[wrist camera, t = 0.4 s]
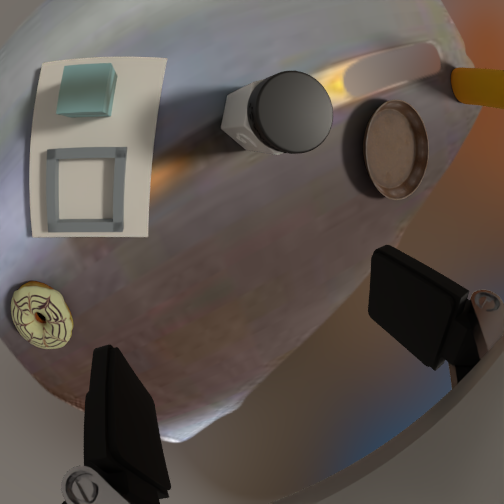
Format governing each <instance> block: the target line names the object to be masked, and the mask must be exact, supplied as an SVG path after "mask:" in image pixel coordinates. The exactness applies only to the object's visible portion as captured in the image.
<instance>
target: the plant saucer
mask: <svg viewBox="0 0 504 504" xmlns="http://www.w3.org/2000/svg"><path fill="white" fill-rule="evenodd" d="M363 155H364V161H365V165H366V169H367V172H368V174H369V176H370V178H371V180H372V182H373V184H374V185H375V187H376V188H377V189H378V191H379V192H380V193H381V194H383V195H384V196H385V197H387V198H389V199H393V200H400V199H404V198H406V197H408V196H409V195H411V194H412V193H413V192H414V191H415V190H416V189H417V187H418V186H419V184H420V183H421V181H422V179H423V177H424V174H425V171H426V168H427V163H428V155H429V144H428V136H427V132H426V128H425V125H424V123H423V121H422V119H421V117H420V115H419V114H418V112H417V111H416V110H415V109H414V108H413V107H412V106H411V105H410V104H408V103H407V102H405V101H402V100H390V101H387V102H385V103H384V104H382V105H381V106H380V107H379V108H378V109H377V110H376V111H375V112H374V114H373V115H372V116H371V118H370V120H369V122H368V124H367V127H366V130H365V134H364V140H363Z"/></svg>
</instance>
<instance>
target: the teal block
mask: <svg viewBox="0 0 504 504" xmlns="http://www.w3.org/2000/svg"><path fill="white" fill-rule="evenodd" d="M117 77H118V76H117V74H116V72H115V70H114V68H113V66H112V63H95V64H79V65H68V66H64V70H63V75H62V80H61V85H60V91H59V96H58V103H57V110H56V114H58V115H63V116H67V117H71V118H76V117H106V116H111V113H112V106H113V100H114V93H115V87H116V82H117Z"/></svg>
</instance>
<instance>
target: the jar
mask: <svg viewBox="0 0 504 504" xmlns="http://www.w3.org/2000/svg"><path fill="white" fill-rule="evenodd" d="M332 121H333V108H332V104H331V100H330V98H329V95H328V93H327V92H326V90H325V89H324V87H323V86H322V85H321V84H320V83H319V82H318V81H317V80H316V79H315V78H313V77H312V76H310V75H308V74H306V73H303V72H299V71H284V72H280V73H277V74H275V75H273V76H270V77H268V78H266V79H263V80H259V81H255V82H252V83H250V84H248V85H246V86H244V87H242V88H240V89H238V90H236V91H234V92H232V93H230V94H228V95H227V99H226V104H225V109H224V114H223V119H222V124H221V129H222V130H223V131H224V132H225V133H227V134H228V135H229V136H230V137H231V138H233V139H234V140H235V141H236V142H237V143H238V144H240V145H241V146H242V147H243V148H244V149H245V150H248V151H254V152H261V153H267V154H273V155H279V154H281V153H287V152H288V153H290V154H296V153H305V152H308V151H311V150H313V149H315V148H316V147H318V146H319V145H320V144H321V143H322V142H323V141H324V140H325V139H326V137H327V136H328V134H329V132H330V129H331V126H332Z"/></svg>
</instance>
